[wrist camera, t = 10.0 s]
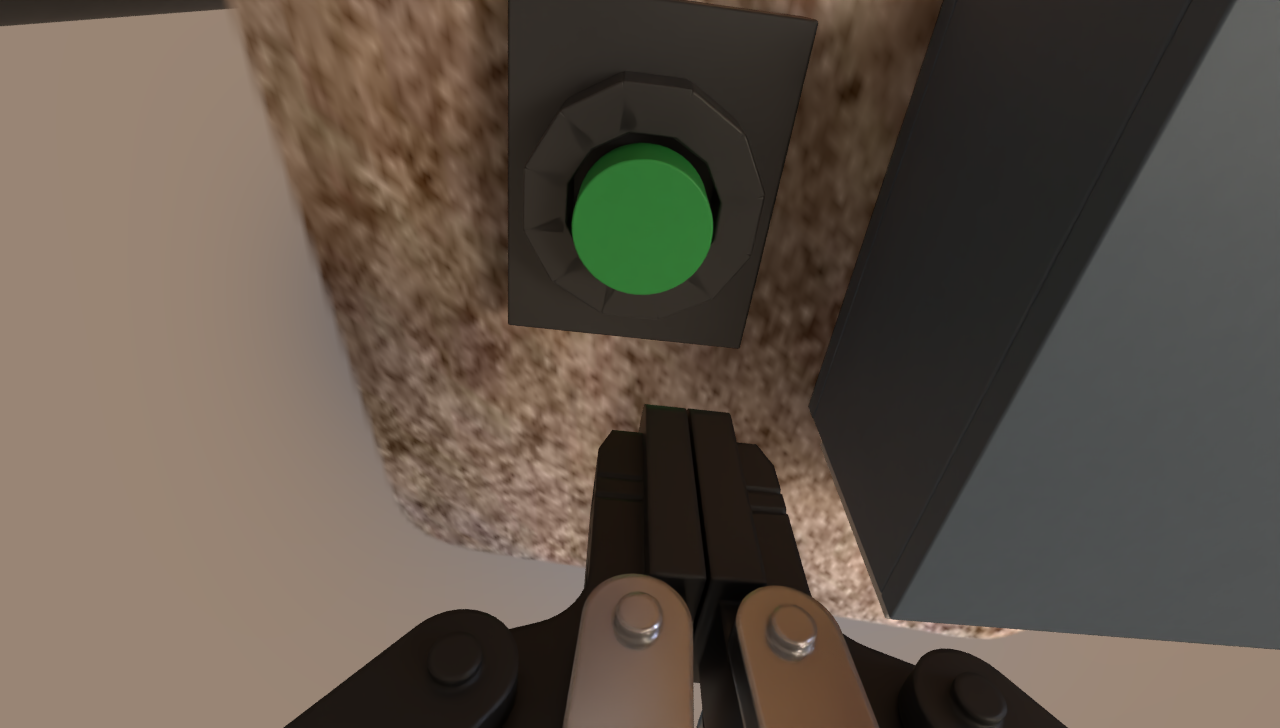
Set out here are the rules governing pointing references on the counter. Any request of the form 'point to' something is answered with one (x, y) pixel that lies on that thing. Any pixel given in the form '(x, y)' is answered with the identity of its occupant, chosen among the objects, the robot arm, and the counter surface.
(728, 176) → the control block
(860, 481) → the cabinet
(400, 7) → the counter surface
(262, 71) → the counter surface
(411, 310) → the counter surface
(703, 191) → the button
